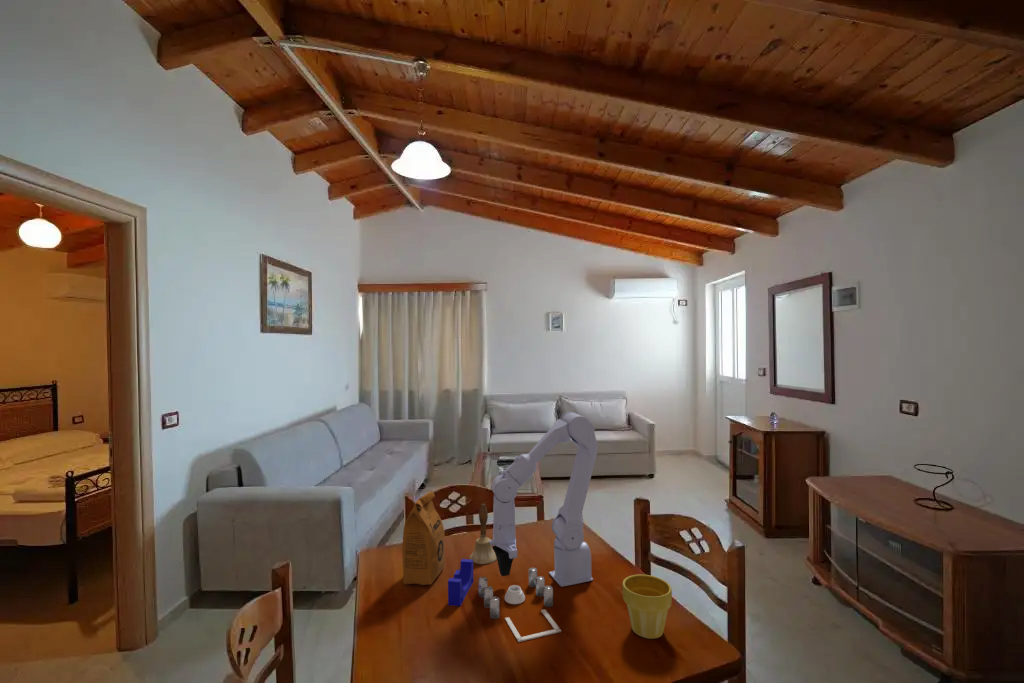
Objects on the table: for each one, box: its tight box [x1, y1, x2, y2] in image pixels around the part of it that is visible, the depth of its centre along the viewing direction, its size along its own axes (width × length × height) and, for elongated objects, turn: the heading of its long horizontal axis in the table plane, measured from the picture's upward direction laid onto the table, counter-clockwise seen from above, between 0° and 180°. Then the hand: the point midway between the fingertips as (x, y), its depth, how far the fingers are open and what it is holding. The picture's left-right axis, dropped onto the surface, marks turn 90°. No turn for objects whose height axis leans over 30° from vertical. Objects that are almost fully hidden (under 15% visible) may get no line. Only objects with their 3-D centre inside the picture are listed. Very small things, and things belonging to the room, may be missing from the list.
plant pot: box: [622, 574, 673, 640], centre depth 103 cm, size 10×10×10 cm
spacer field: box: [477, 567, 554, 620], centre depth 116 cm, size 16×12×4 cm
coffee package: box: [401, 490, 446, 586], centre depth 129 cm, size 10×12×22 cm
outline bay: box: [504, 608, 562, 643], centre depth 105 cm, size 10×9×1 cm
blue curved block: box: [447, 558, 474, 607], centre depth 120 cm, size 12×4×6 cm, turn 169°
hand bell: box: [469, 503, 497, 565], centre depth 140 cm, size 8×8×16 cm
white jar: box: [504, 584, 526, 605], centre depth 116 cm, size 5×3×5 cm
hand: (504, 574), depth 123 cm, fingers closed
